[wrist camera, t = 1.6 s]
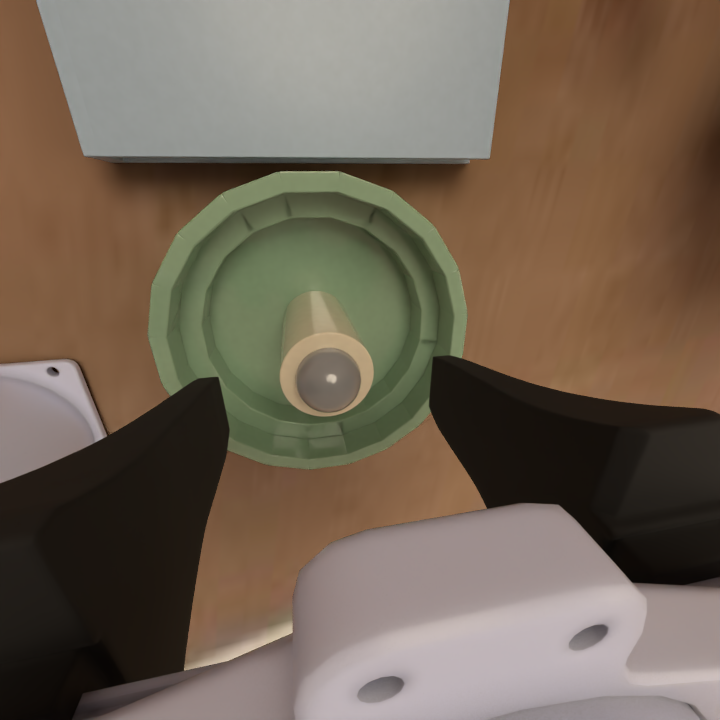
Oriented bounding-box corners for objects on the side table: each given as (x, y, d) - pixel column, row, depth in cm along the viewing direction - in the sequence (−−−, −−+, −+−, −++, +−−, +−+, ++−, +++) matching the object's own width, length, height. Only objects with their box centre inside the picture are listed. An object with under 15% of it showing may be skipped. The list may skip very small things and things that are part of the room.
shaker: (286, 355, 19) (284, 445, 12) (279, 292, 17) (271, 352, 10) (348, 349, 19) (382, 432, 12) (347, 288, 18) (384, 343, 11)
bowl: (208, 437, 21) (191, 487, 17) (144, 179, 15) (98, 171, 11) (426, 411, 23) (451, 450, 19) (444, 177, 17) (486, 170, 13)
